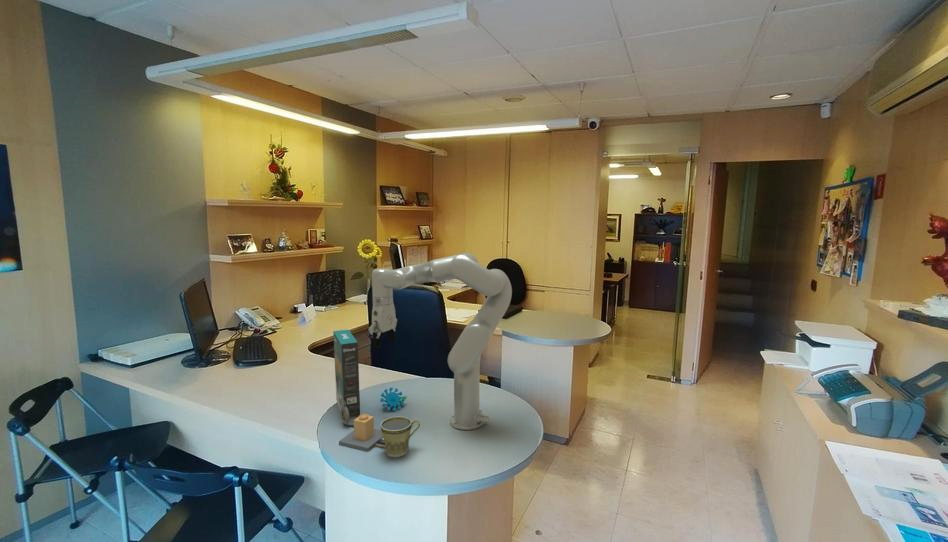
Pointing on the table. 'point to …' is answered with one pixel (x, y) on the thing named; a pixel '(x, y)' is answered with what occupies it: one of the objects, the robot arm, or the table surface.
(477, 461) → the table surface
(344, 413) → the pocket watch
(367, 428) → the cube with round knob
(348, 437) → the junction plate
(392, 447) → the ceramic cup
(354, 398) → the cake mix box
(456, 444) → the table surface
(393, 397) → the gear
